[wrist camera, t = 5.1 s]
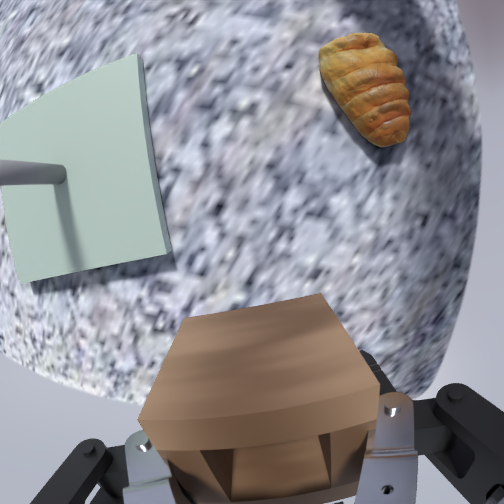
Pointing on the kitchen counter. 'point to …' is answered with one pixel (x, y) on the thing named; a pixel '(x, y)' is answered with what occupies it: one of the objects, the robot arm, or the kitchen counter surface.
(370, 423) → the hollow wooden cube
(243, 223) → the kitchen counter surface
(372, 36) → the pastry
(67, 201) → the green peg base
